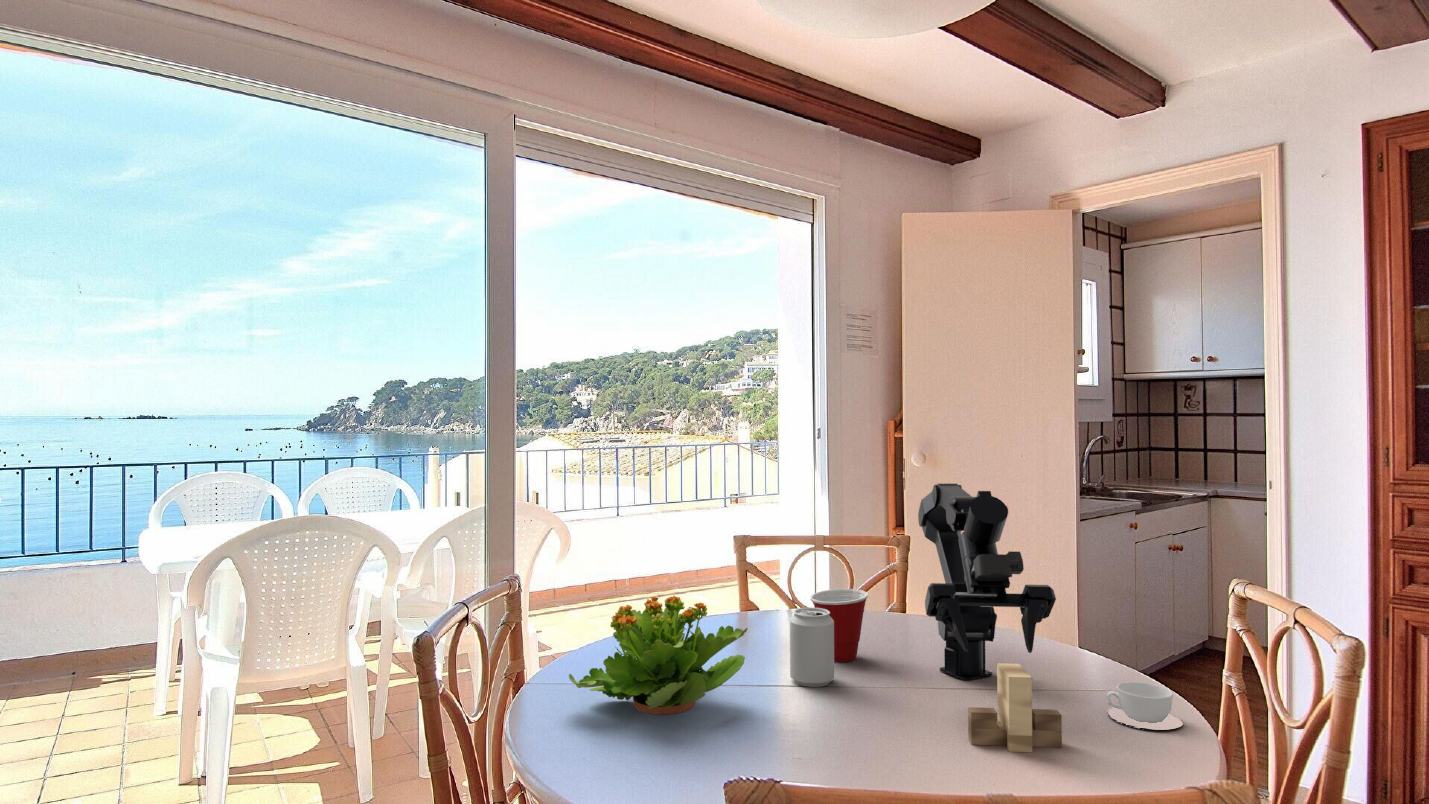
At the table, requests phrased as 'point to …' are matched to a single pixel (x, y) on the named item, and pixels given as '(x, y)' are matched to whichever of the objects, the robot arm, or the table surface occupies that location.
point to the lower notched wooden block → (991, 733)
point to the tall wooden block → (1015, 706)
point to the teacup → (1143, 701)
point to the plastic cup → (843, 619)
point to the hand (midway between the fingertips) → (998, 650)
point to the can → (811, 647)
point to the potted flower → (663, 658)
